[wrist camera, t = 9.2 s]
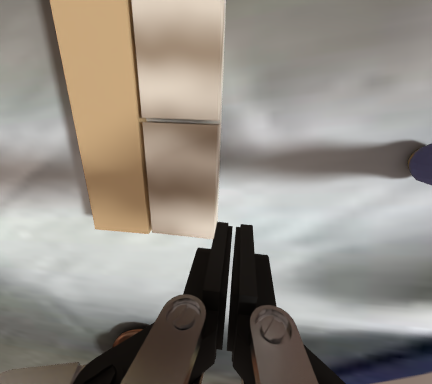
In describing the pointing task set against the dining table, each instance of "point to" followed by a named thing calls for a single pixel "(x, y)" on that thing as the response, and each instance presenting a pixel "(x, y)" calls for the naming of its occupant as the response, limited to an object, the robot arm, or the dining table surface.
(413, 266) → the dining table surface
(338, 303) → the dining table surface
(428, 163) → the rubber mallet
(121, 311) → the dining table surface
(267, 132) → the dining table surface
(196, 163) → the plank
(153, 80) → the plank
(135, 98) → the floor board
